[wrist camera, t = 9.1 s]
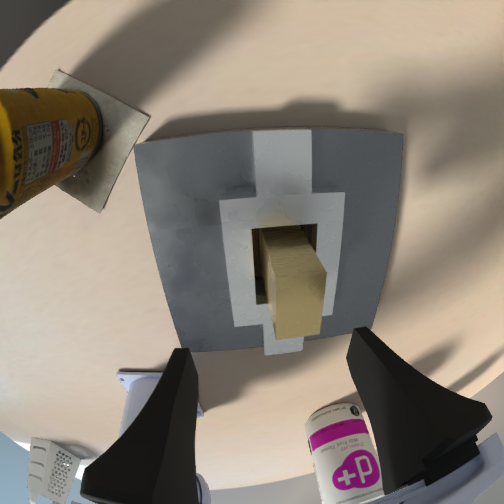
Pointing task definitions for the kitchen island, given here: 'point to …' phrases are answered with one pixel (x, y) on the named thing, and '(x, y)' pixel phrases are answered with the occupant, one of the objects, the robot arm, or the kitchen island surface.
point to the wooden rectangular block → (292, 281)
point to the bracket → (279, 224)
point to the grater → (50, 471)
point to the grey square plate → (242, 181)
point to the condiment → (63, 141)
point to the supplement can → (343, 456)
